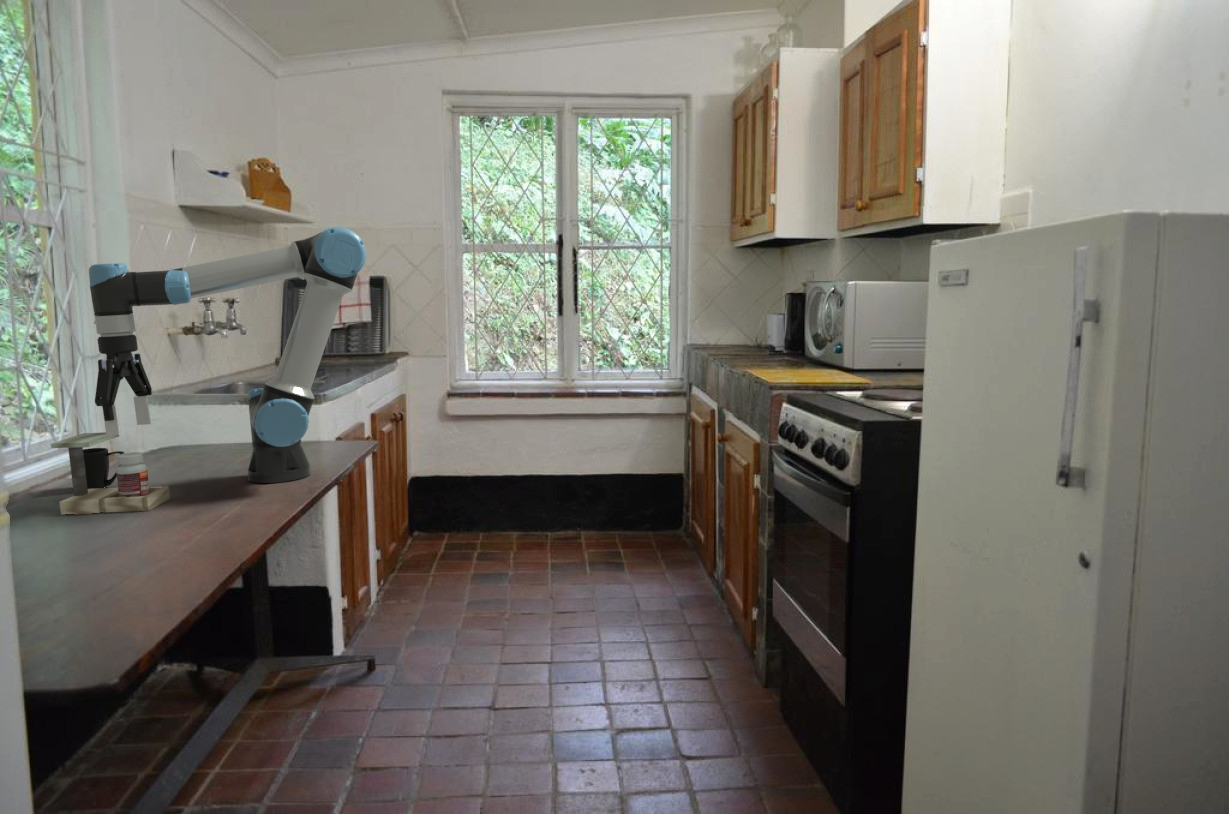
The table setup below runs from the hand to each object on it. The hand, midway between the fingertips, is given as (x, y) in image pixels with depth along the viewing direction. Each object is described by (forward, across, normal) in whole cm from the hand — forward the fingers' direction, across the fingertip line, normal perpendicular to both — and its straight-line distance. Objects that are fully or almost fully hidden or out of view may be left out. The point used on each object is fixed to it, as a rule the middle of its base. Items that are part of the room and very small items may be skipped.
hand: (129, 429), depth 198 cm
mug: (+18, -20, -19) cm, 32 cm away
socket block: (+17, 0, -5) cm, 18 cm away
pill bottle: (+17, 0, -1) cm, 17 cm away
